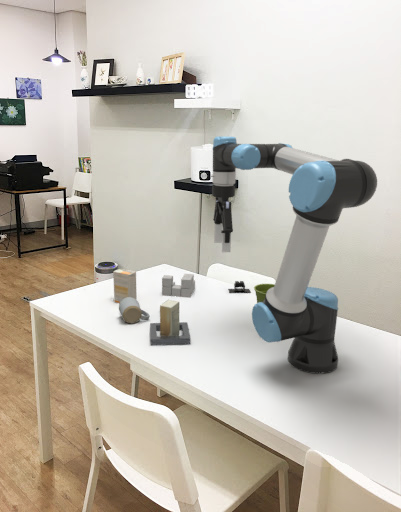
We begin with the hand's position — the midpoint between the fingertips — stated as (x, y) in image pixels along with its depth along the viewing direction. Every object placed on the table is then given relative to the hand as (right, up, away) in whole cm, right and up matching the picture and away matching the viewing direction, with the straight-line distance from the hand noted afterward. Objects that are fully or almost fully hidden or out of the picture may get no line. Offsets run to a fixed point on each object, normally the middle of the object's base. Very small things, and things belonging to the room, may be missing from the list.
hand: (221, 247), depth 167 cm
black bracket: (+9, -19, +46) cm, 50 cm away
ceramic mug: (-32, -27, +13) cm, 43 cm away
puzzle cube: (-17, -19, +43) cm, 50 cm away
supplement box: (-37, -22, +29) cm, 52 cm away
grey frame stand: (-19, -28, +8) cm, 35 cm away
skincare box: (-18, -31, -1) cm, 35 cm away
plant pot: (+18, -26, +18) cm, 37 cm away
